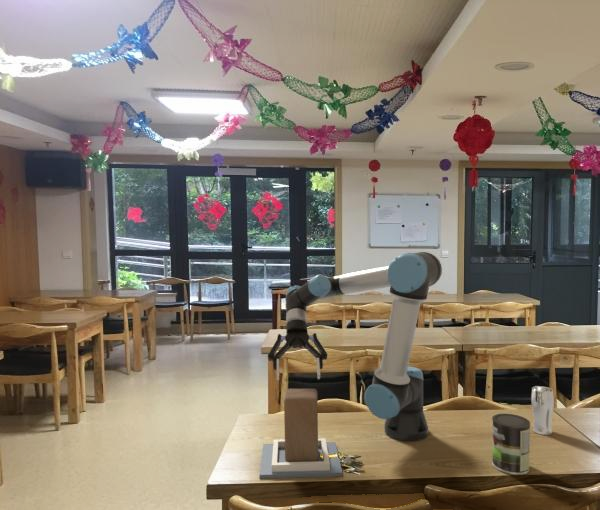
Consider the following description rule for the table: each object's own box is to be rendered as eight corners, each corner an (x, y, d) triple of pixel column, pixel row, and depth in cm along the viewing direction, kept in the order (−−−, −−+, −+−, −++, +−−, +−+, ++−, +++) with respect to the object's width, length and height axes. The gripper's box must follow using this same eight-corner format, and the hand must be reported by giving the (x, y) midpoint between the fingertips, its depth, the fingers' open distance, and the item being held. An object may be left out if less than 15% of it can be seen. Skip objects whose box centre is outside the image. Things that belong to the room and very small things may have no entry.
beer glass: (532, 433, 160) (532, 391, 159) (530, 426, 166) (530, 385, 166) (554, 436, 157) (555, 393, 157) (552, 428, 164) (552, 387, 163)
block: (318, 463, 139) (317, 398, 138) (285, 463, 140) (283, 398, 139) (318, 448, 149) (317, 387, 148) (287, 448, 150) (286, 387, 149)
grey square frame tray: (335, 444, 154) (335, 436, 154) (342, 476, 134) (342, 465, 134) (263, 446, 153) (263, 437, 153) (259, 478, 133) (259, 468, 133)
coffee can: (503, 476, 132) (503, 427, 132) (485, 459, 143) (485, 414, 142) (537, 474, 133) (537, 426, 133) (517, 457, 144) (517, 412, 143)
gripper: (330, 329, 170) (335, 382, 156) (262, 330, 170) (261, 384, 155) (331, 317, 165) (336, 371, 150) (261, 319, 164) (260, 373, 150)
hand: (298, 377), depth 153 cm, fingers open, 13 cm apart
